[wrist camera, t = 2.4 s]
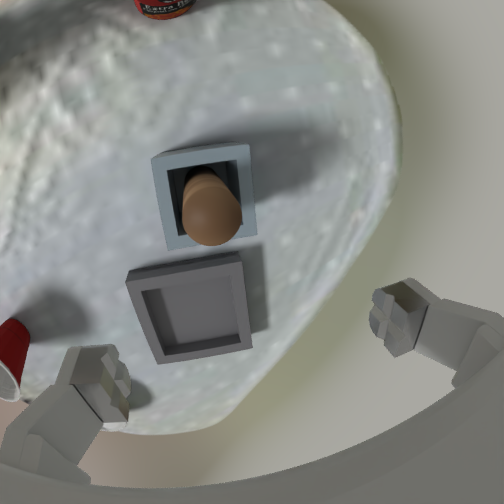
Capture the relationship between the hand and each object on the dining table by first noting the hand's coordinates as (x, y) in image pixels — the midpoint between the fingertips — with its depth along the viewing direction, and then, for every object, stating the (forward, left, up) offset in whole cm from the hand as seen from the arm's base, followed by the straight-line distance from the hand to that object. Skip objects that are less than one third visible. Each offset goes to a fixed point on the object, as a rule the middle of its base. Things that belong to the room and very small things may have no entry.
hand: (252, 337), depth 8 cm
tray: (+17, -4, -27) cm, 32 cm away
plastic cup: (+17, -37, -27) cm, 49 cm away
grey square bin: (0, 0, -27) cm, 27 cm away
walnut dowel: (0, 0, -26) cm, 26 cm away
